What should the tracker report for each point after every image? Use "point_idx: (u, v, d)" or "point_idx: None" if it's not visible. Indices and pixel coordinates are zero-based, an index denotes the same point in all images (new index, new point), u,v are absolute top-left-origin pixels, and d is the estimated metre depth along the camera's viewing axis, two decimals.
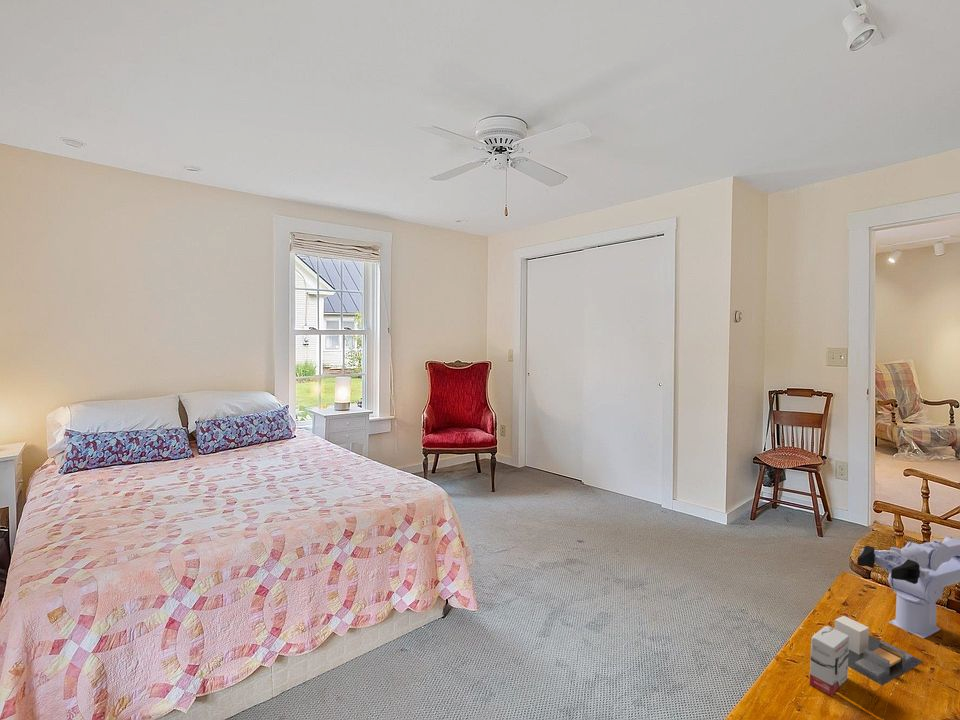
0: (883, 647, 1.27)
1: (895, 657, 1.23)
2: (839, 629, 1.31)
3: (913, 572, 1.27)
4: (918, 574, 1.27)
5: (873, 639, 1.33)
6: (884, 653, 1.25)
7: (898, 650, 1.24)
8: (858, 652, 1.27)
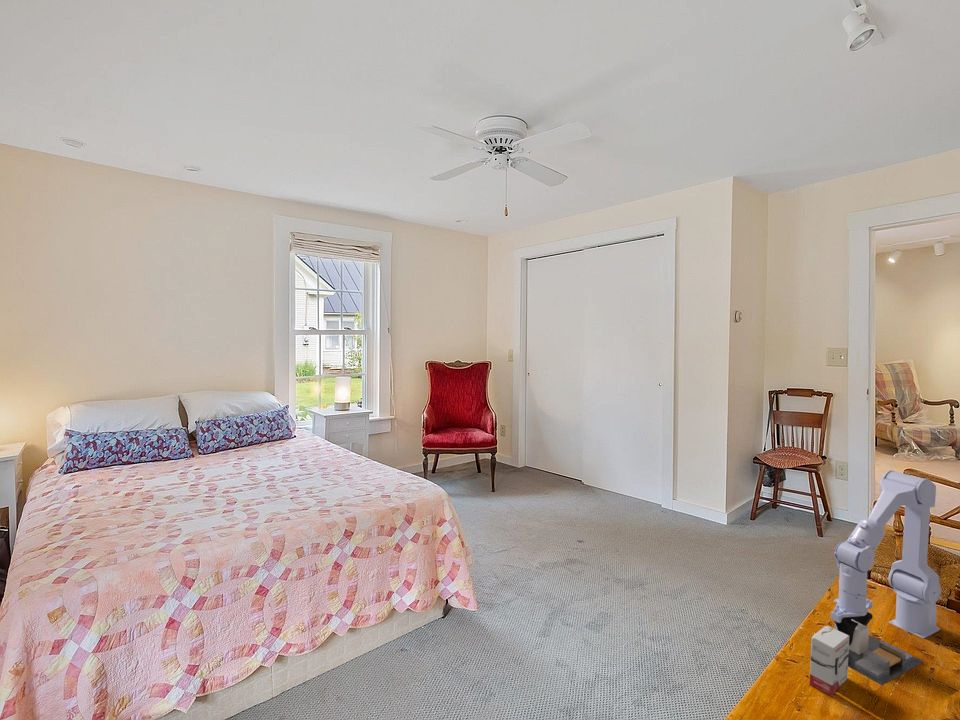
0: (883, 647, 1.27)
1: (895, 657, 1.23)
2: None
3: None
4: (841, 620, 1.28)
5: (873, 639, 1.33)
6: (884, 653, 1.25)
7: (898, 650, 1.24)
8: (858, 652, 1.27)
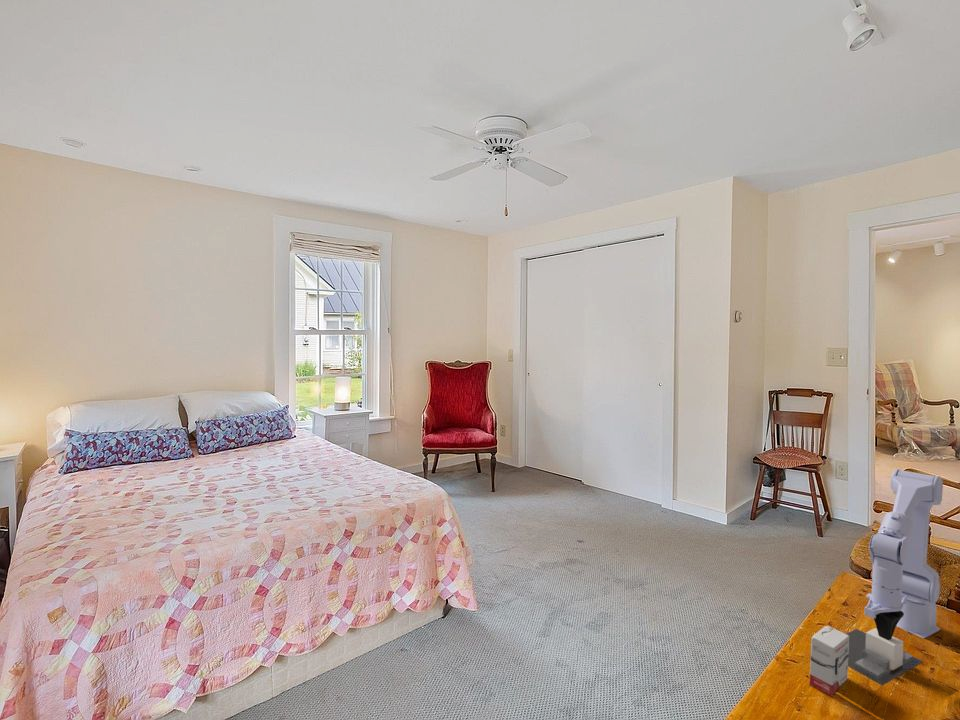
0: None
1: None
2: (871, 643, 1.25)
3: None
4: (880, 613, 1.22)
5: None
6: None
7: None
8: (892, 667, 1.21)
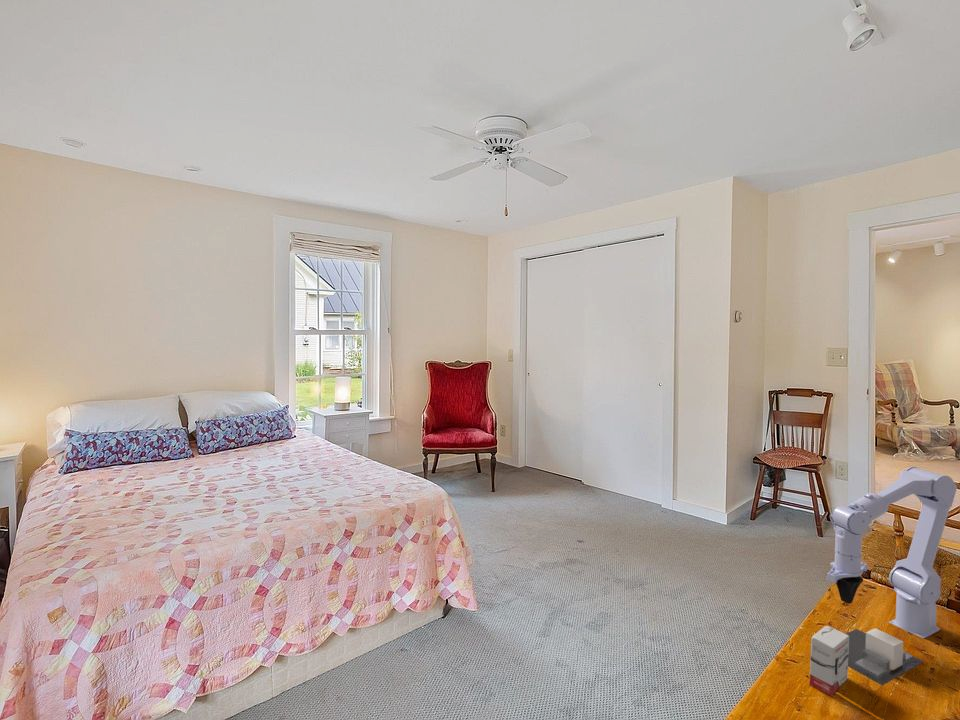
0: None
1: None
2: (871, 643, 1.25)
3: None
4: (841, 579, 1.33)
5: None
6: None
7: None
8: (892, 667, 1.21)
